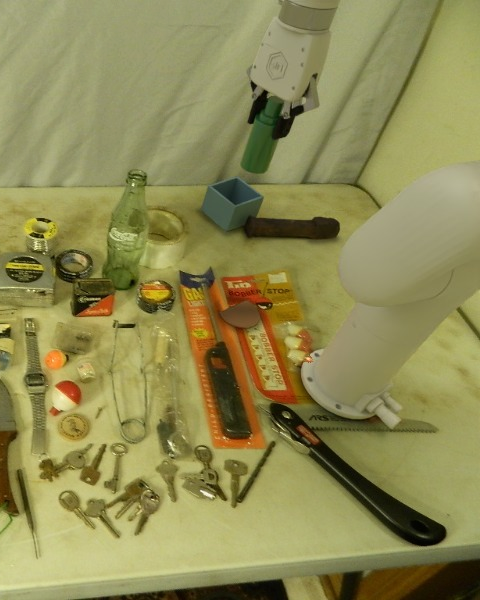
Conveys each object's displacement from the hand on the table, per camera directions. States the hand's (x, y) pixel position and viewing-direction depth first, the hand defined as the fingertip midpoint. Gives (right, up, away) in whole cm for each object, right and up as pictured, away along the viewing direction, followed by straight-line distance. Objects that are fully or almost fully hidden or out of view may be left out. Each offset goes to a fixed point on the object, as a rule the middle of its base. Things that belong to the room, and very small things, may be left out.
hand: (266, 128), depth 90 cm
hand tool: (+11, -16, +18) cm, 26 cm away
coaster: (-4, -32, +1) cm, 32 cm away
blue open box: (-1, -12, +20) cm, 24 cm away
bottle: (-1, -5, +5) cm, 7 cm away
